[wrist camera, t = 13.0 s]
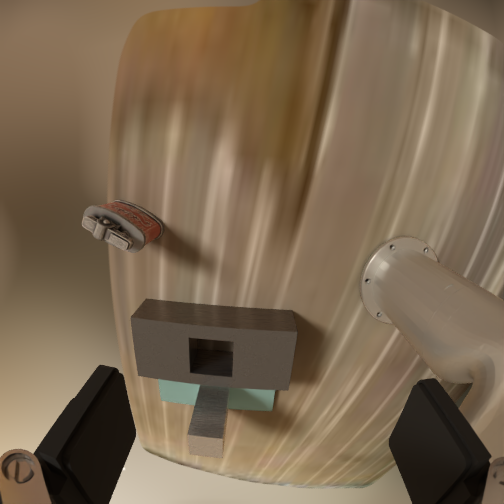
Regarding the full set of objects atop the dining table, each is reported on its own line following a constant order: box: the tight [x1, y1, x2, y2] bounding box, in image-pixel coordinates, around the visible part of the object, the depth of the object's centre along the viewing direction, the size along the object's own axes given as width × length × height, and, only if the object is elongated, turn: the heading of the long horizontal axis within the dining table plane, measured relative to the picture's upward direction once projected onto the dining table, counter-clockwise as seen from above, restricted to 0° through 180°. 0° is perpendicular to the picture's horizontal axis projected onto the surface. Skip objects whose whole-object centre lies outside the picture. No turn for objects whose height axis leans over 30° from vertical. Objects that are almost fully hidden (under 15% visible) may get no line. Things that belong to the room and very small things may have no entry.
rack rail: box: [131, 299, 298, 390], centre depth 38 cm, size 20×9×6 cm, turn 86°
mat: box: [158, 379, 275, 411], centre depth 43 cm, size 18×8×1 cm, turn 86°
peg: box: [188, 385, 230, 458], centre depth 37 cm, size 4×4×12 cm
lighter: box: [82, 200, 164, 253], centre depth 33 cm, size 8×3×10 cm, turn 62°
